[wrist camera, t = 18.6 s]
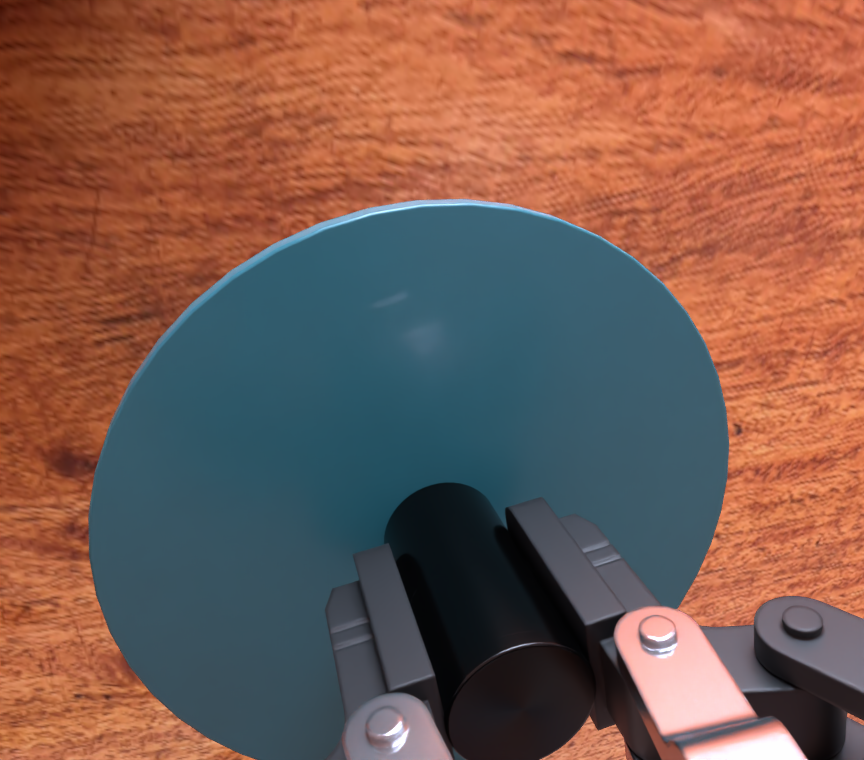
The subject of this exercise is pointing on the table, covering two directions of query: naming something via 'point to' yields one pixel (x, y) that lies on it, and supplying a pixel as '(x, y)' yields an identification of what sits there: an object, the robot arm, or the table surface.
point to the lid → (400, 468)
